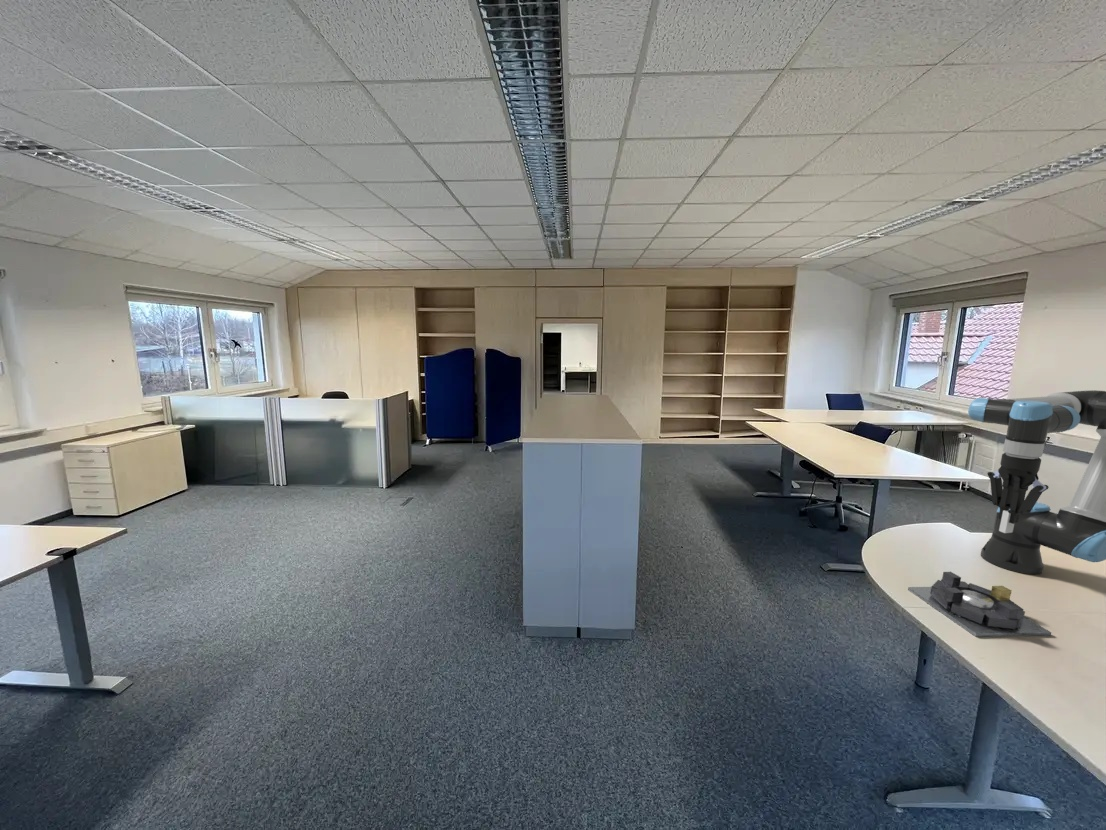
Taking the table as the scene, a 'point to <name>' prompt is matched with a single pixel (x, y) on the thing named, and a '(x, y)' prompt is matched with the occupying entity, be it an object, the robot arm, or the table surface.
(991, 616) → the octagonal block ring
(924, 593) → the base plate
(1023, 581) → the table surface
